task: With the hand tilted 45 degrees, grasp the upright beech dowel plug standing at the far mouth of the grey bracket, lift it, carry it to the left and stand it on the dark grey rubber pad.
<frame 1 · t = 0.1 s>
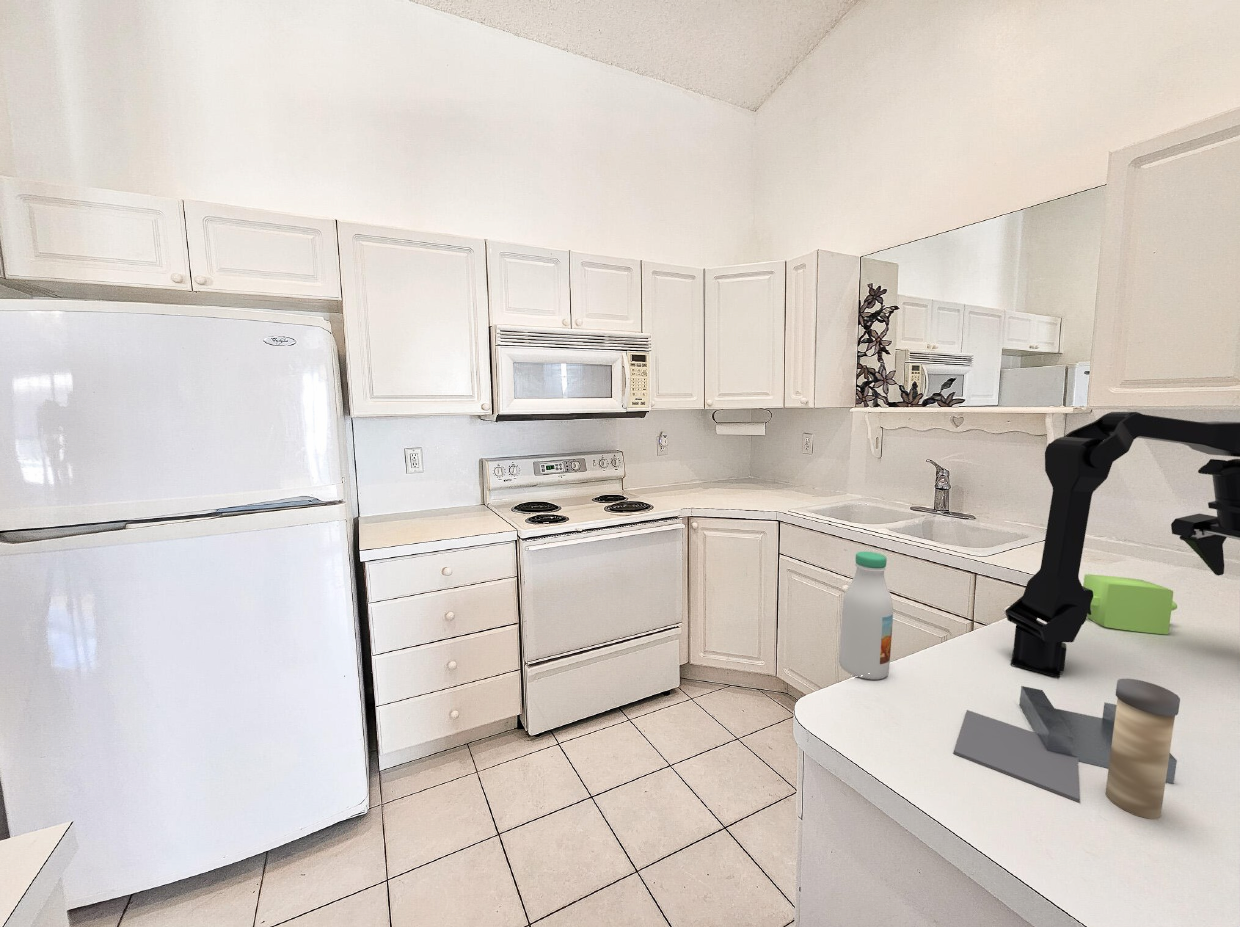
grey bracket: (1087, 739, 68), on the worktop
gearbox: (1123, 624, 107), on the worktop
pad: (1015, 751, 65), on the worktop
milk bottle: (863, 670, 86), on the worktop
plug: (1132, 803, 57), on the worktop
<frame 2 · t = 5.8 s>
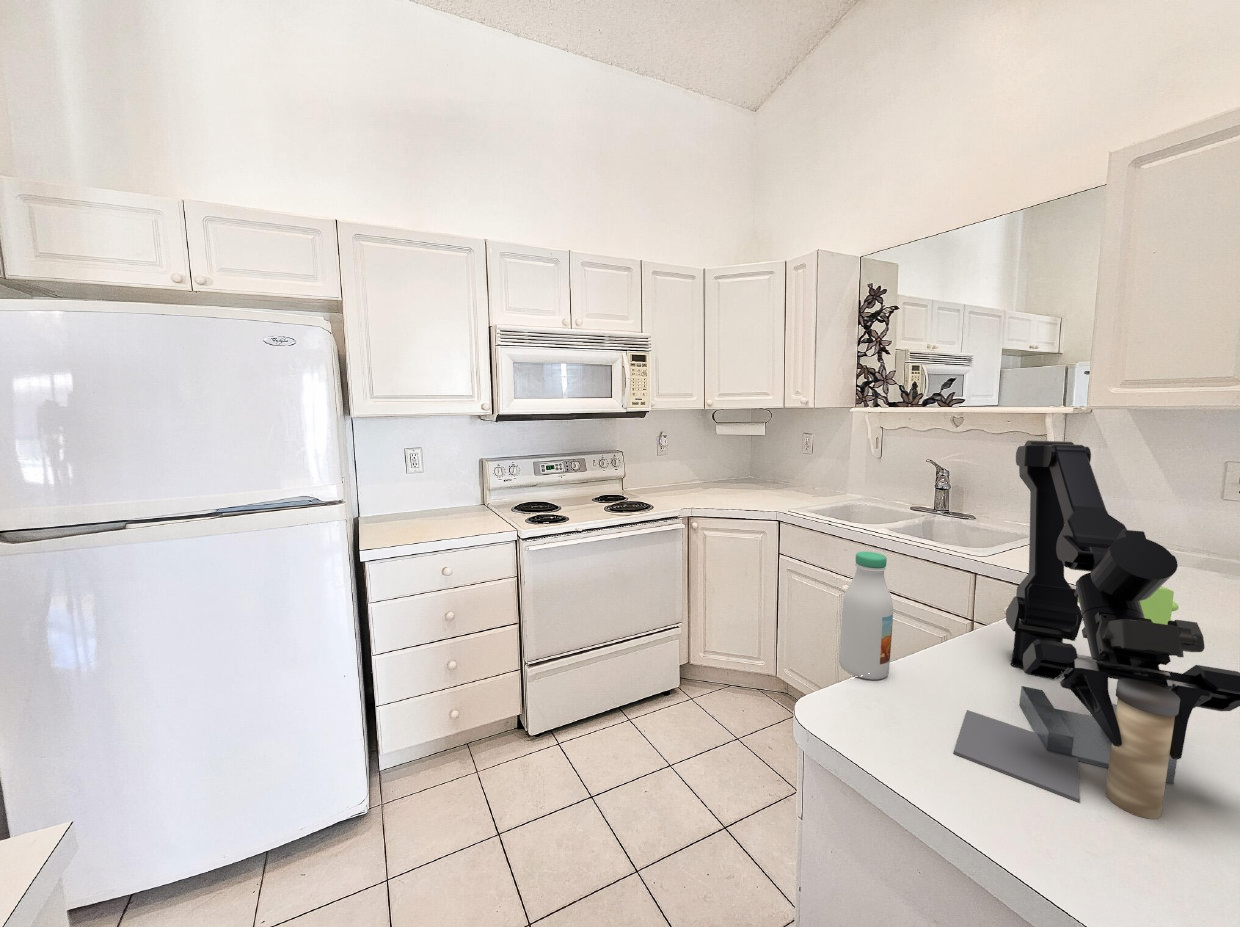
hand: (1146, 752, 55), 7 cm above the worktop, tool tilted 45°, fingers closed on plug, 4 cm apart
plug: (1132, 803, 57), on the worktop, touching gripper
everything else where it was.
when the fingers open (8 cm above the worktop, at t = 8.9 s): plug stays where it is, resting on pad.
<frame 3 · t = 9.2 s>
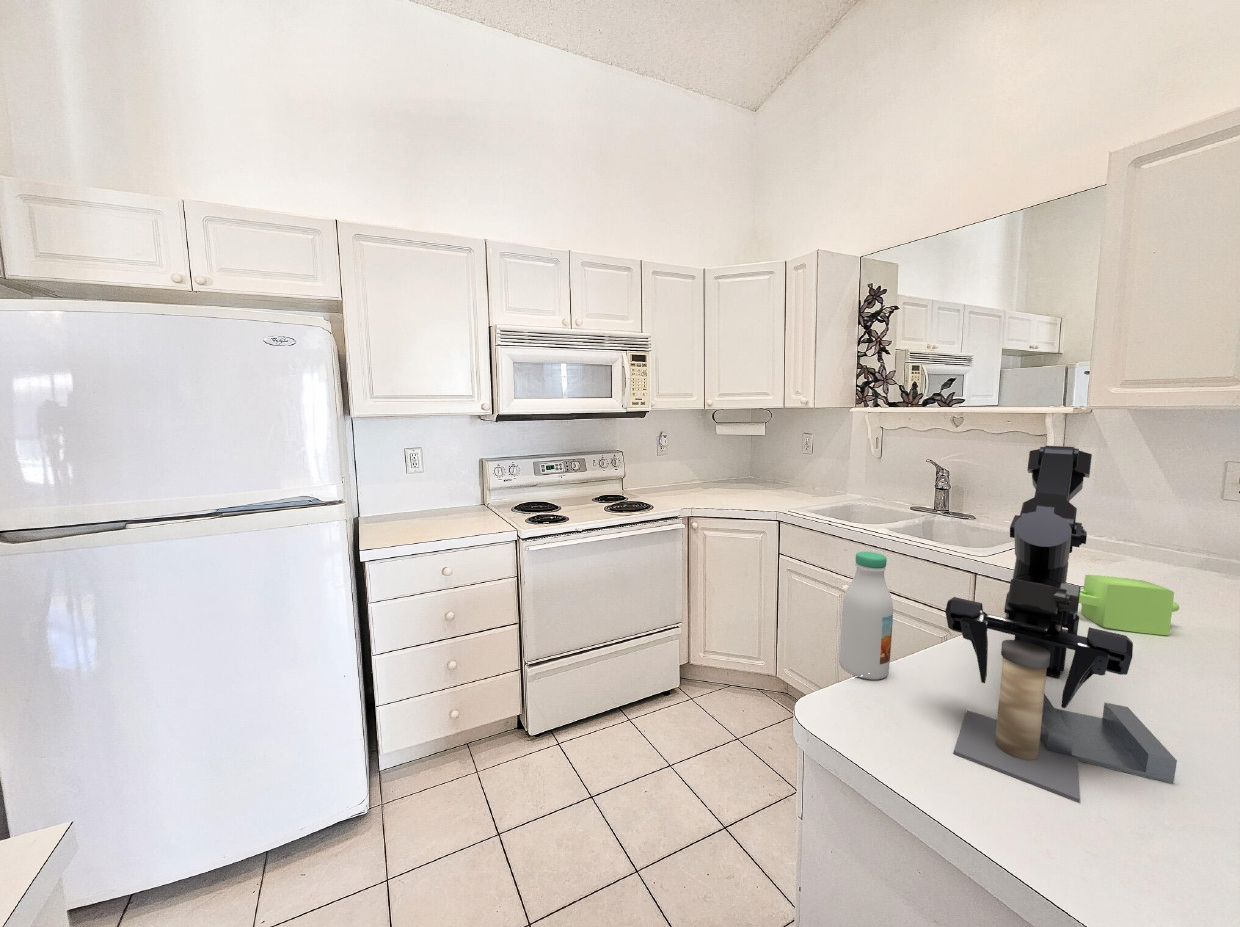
hand: (1021, 693, 63), 9 cm above the worktop, tool tilted 45°, fingers open, 8 cm apart
plug: (1016, 748, 65), resting on pad
everything else where it was.
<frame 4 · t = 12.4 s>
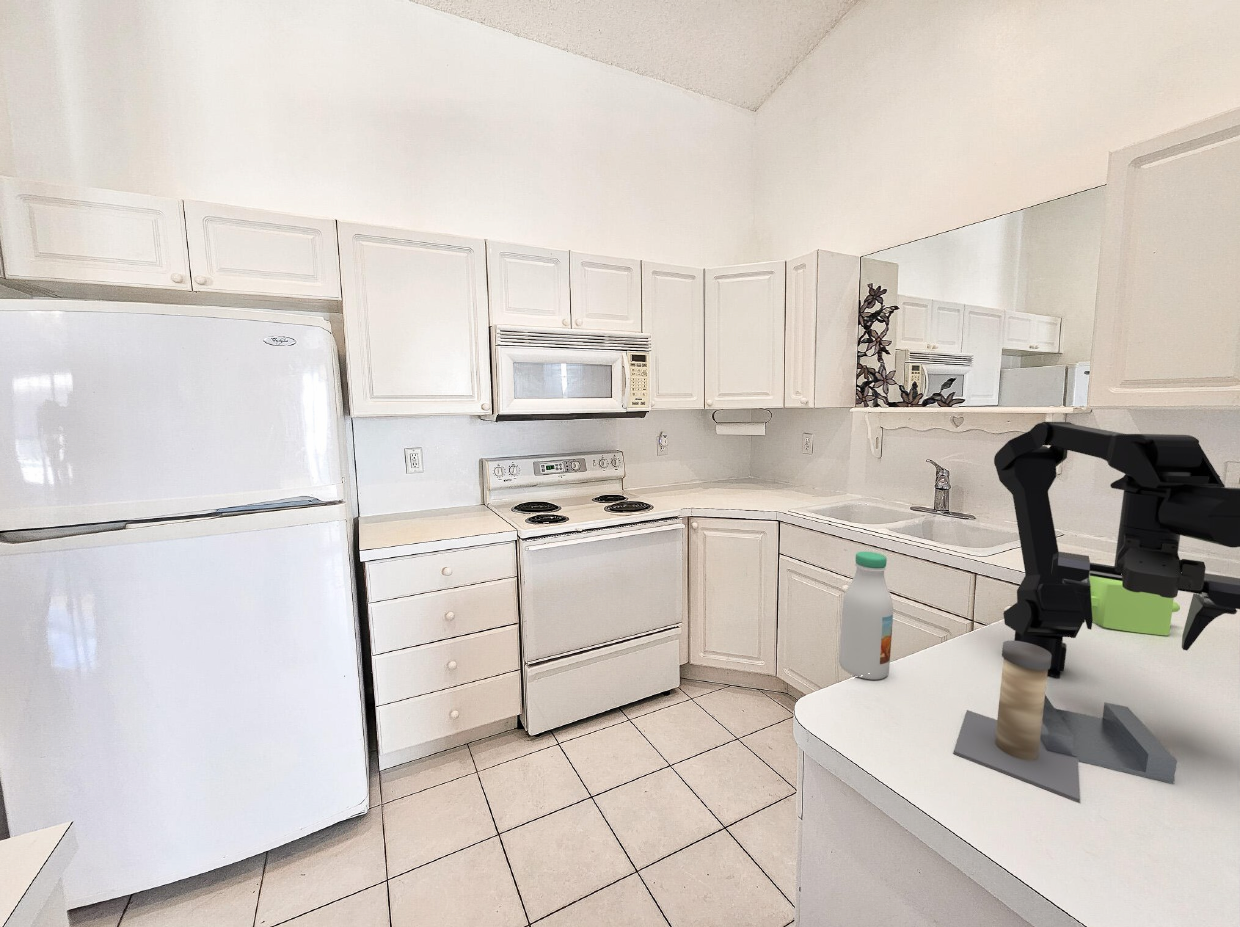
hand: (1134, 638, 69), 13 cm above the worktop, tool pointing down, fingers open, 9 cm apart
nothing on the worktop moved.
at the end: plug inside the target area on the pad (0.0 cm from its centre), point 0.4 cm above the pad's base; plug tilted 0°; the gripper is holding nothing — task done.
